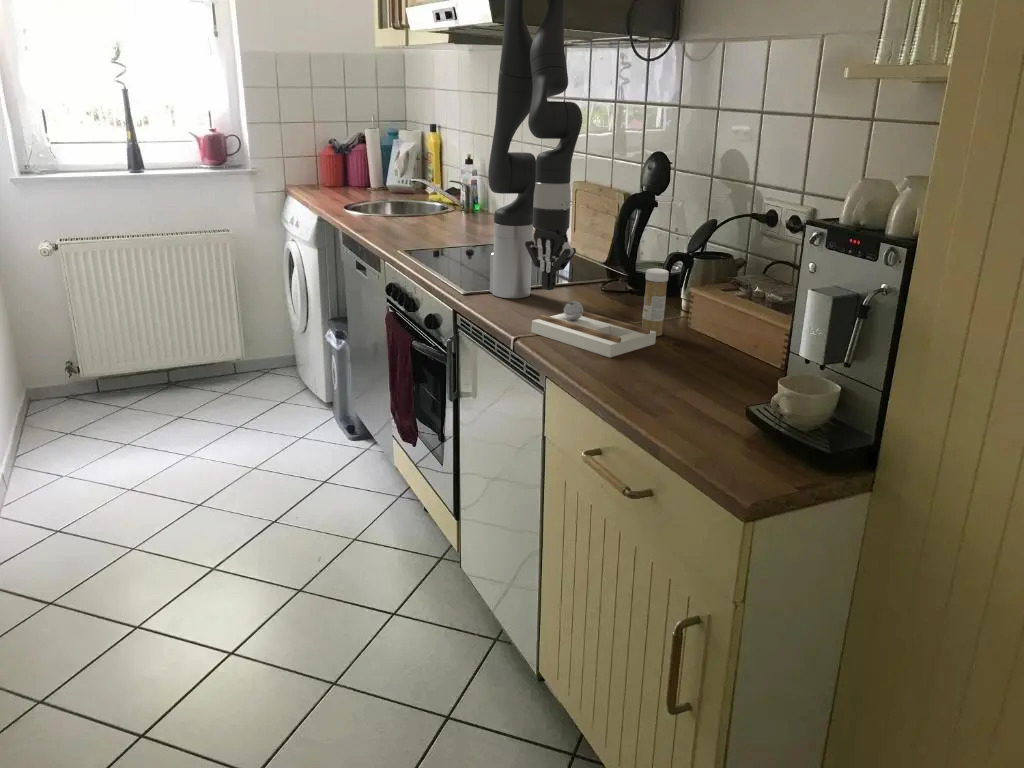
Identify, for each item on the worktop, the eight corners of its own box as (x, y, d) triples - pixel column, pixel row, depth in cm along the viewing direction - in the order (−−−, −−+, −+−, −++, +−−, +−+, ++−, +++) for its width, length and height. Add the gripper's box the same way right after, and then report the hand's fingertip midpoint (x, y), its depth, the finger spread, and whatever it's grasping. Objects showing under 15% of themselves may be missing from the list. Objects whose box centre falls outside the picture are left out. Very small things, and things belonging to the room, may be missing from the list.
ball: (559, 319, 167) (560, 300, 166) (572, 316, 170) (573, 298, 168) (573, 324, 164) (574, 304, 163) (586, 320, 167) (587, 301, 166)
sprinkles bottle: (638, 330, 170) (643, 267, 166) (659, 330, 171) (665, 267, 166) (643, 337, 166) (649, 272, 161) (665, 337, 166) (671, 272, 162)
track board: (531, 332, 167) (531, 316, 166) (576, 321, 176) (577, 306, 175) (609, 357, 153) (611, 340, 151) (655, 343, 162) (656, 328, 161)
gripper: (515, 203, 166) (513, 286, 172) (563, 210, 157) (559, 297, 163) (541, 201, 171) (538, 281, 177) (588, 207, 162) (583, 292, 168)
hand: (548, 289), depth 170 cm, fingers closed
